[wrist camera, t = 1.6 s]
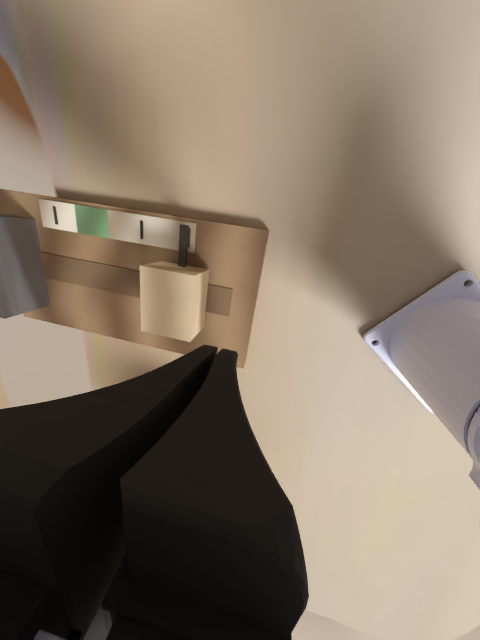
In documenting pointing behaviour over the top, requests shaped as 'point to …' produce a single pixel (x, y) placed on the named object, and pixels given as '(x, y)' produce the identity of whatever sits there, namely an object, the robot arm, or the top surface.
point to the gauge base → (122, 268)
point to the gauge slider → (173, 295)
